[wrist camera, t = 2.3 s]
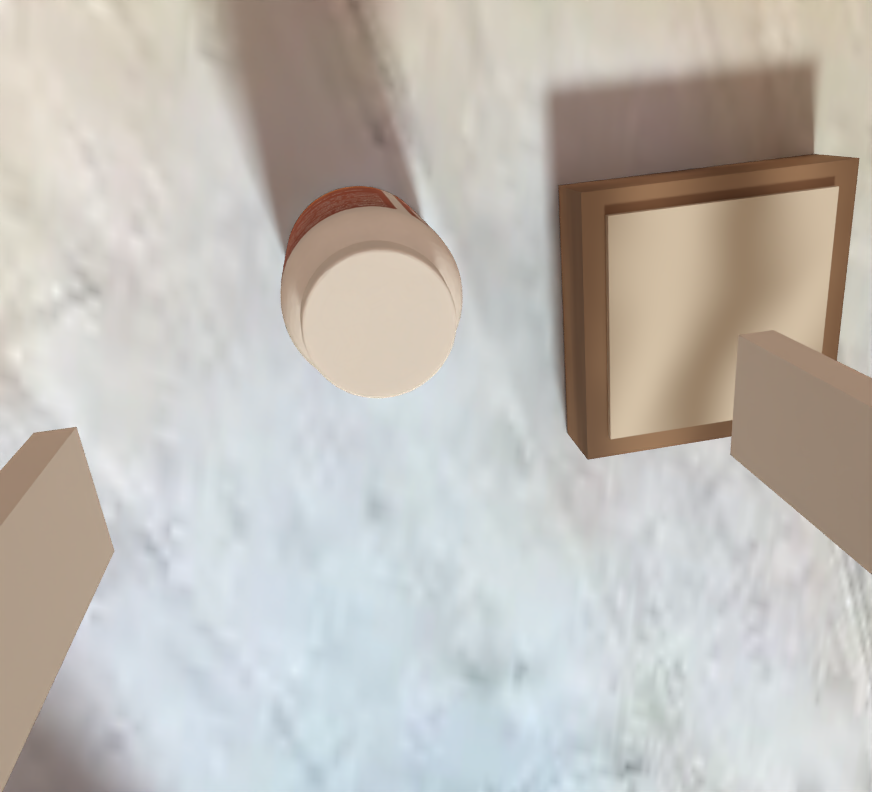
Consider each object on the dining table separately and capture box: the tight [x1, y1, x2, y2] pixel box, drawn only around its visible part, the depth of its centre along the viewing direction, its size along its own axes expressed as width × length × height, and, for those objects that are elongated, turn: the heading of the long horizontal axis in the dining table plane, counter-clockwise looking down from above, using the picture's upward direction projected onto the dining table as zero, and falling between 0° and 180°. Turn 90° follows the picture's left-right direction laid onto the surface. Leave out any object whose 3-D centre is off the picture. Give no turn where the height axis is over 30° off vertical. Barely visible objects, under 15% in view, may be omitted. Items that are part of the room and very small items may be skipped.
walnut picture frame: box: [559, 154, 859, 459], centre depth 33 cm, size 12×12×3 cm
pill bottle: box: [281, 186, 462, 398], centre depth 27 cm, size 6×6×11 cm
